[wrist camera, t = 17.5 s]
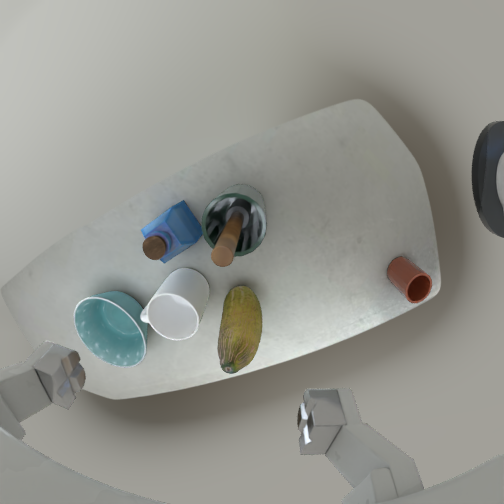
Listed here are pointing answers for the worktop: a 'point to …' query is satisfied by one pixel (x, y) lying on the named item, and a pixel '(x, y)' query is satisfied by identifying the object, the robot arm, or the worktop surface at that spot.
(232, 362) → the vegetable
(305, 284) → the worktop surface
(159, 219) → the perfume bottle
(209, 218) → the cup
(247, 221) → the wooden dowel rod
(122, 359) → the bowl
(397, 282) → the holder
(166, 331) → the mug
